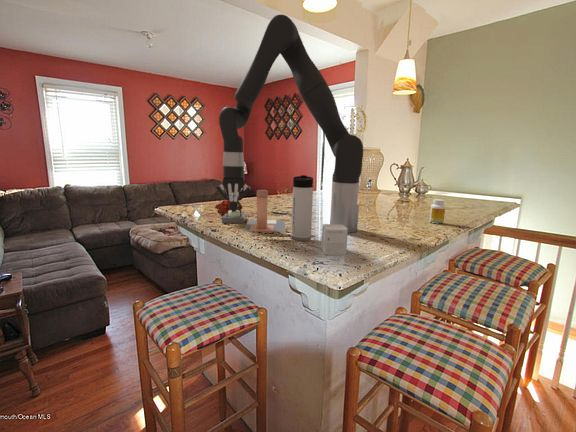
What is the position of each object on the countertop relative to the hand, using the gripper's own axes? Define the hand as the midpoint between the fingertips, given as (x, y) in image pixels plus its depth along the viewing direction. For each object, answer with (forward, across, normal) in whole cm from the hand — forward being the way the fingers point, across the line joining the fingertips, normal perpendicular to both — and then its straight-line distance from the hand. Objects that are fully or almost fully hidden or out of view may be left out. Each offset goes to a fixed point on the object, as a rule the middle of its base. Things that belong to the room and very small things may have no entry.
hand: (233, 211), depth 117 cm
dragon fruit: (+5, -4, +13) cm, 15 cm away
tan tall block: (+4, +11, -11) cm, 16 cm away
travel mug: (+5, +24, -20) cm, 32 cm away
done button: (+4, 0, 0) cm, 4 cm away
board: (+5, +12, -7) cm, 15 cm away
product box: (+5, +32, -33) cm, 46 cm away
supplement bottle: (+5, +82, +6) cm, 82 cm away
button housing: (+5, 0, 0) cm, 5 cm away
